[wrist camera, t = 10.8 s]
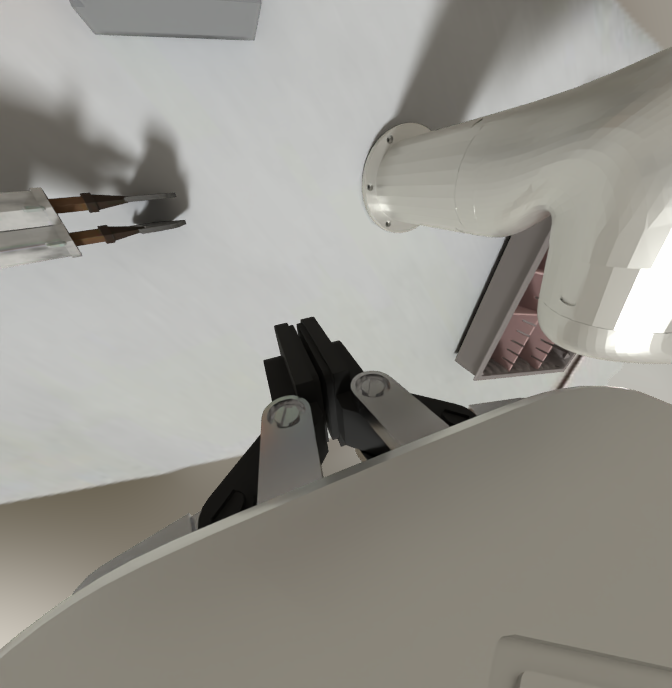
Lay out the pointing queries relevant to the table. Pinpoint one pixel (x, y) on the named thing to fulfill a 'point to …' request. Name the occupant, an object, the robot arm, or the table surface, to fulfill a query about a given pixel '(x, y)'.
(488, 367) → the organizer tray
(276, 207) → the table surface
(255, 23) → the box
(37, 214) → the gun
